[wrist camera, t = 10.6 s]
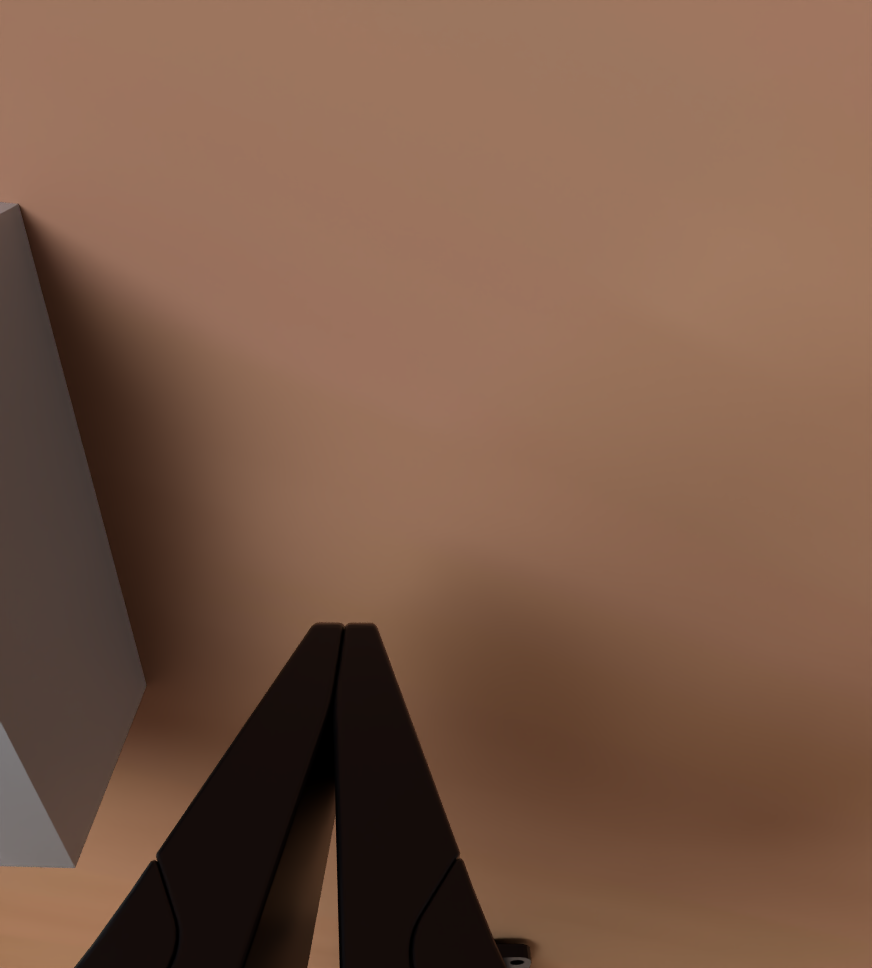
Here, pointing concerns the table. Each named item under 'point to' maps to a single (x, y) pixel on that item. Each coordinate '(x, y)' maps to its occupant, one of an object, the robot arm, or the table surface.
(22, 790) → the slab
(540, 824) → the table surface
